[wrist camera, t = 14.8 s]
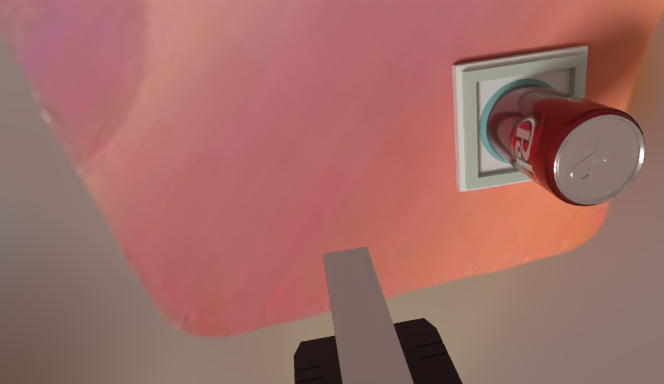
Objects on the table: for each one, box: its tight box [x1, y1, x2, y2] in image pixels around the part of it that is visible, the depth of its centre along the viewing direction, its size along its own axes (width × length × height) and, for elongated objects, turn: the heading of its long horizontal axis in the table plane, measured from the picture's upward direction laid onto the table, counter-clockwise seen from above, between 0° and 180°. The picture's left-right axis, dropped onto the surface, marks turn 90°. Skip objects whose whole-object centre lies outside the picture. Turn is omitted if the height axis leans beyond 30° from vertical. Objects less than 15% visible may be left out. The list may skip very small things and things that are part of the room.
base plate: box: [452, 45, 588, 192], centre depth 45 cm, size 12×12×2 cm
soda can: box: [486, 84, 645, 206], centre depth 39 cm, size 7×7×12 cm
